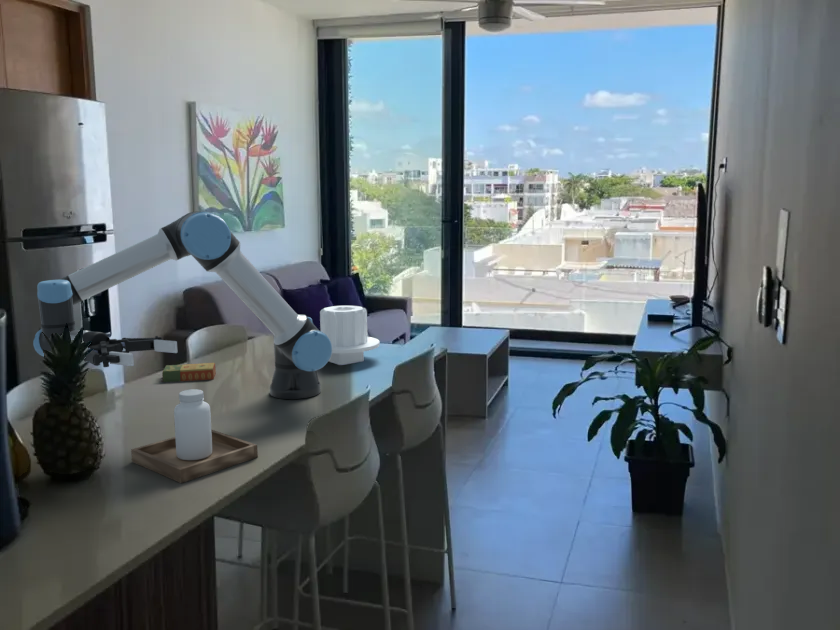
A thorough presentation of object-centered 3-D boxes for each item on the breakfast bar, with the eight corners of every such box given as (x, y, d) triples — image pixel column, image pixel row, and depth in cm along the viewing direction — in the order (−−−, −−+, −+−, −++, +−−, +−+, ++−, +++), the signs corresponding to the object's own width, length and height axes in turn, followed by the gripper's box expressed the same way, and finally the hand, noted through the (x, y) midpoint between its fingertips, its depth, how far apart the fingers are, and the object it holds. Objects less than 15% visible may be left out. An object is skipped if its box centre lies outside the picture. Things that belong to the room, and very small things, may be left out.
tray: (207, 439, 188) (206, 427, 188) (257, 457, 176) (257, 444, 175) (132, 461, 173) (131, 449, 173) (181, 483, 160) (180, 469, 160)
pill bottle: (199, 463, 169) (195, 398, 167) (169, 459, 172) (164, 395, 169) (219, 451, 177) (216, 388, 174) (190, 447, 179) (186, 386, 177)
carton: (213, 380, 247) (213, 367, 246) (162, 383, 244) (161, 370, 244) (216, 374, 255) (215, 361, 254) (166, 376, 252) (165, 364, 252)
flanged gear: (354, 350, 289) (353, 301, 286) (393, 361, 270) (393, 309, 266) (296, 360, 273) (294, 308, 270) (333, 372, 254) (332, 317, 251)
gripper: (129, 351, 195) (193, 357, 186) (45, 374, 173) (113, 382, 164) (126, 322, 194) (191, 327, 185) (41, 341, 172) (110, 348, 163)
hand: (155, 353), depth 174 cm, fingers open, 13 cm apart
